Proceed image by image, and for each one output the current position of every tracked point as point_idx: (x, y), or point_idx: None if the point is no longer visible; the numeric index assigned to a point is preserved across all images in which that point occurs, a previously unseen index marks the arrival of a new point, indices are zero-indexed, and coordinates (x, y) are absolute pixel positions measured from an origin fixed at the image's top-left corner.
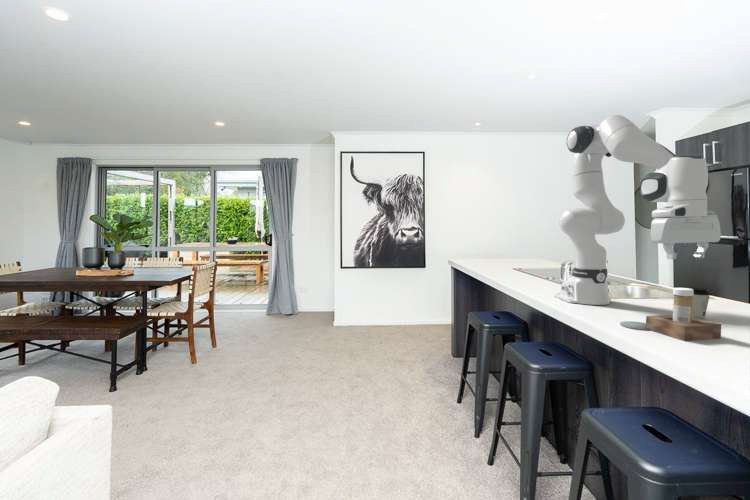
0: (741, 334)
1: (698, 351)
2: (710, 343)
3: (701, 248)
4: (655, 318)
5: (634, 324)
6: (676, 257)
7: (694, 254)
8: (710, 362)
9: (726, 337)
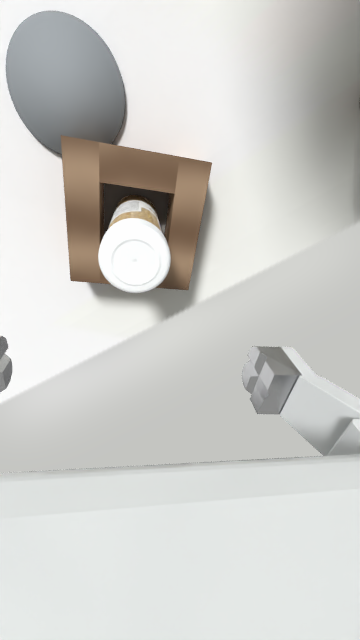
0: (259, 269)
1: (41, 319)
2: (120, 293)
3: (322, 423)
4: (66, 178)
5: (63, 79)
6: (5, 384)
7: (264, 361)
8: None
9: (202, 274)
